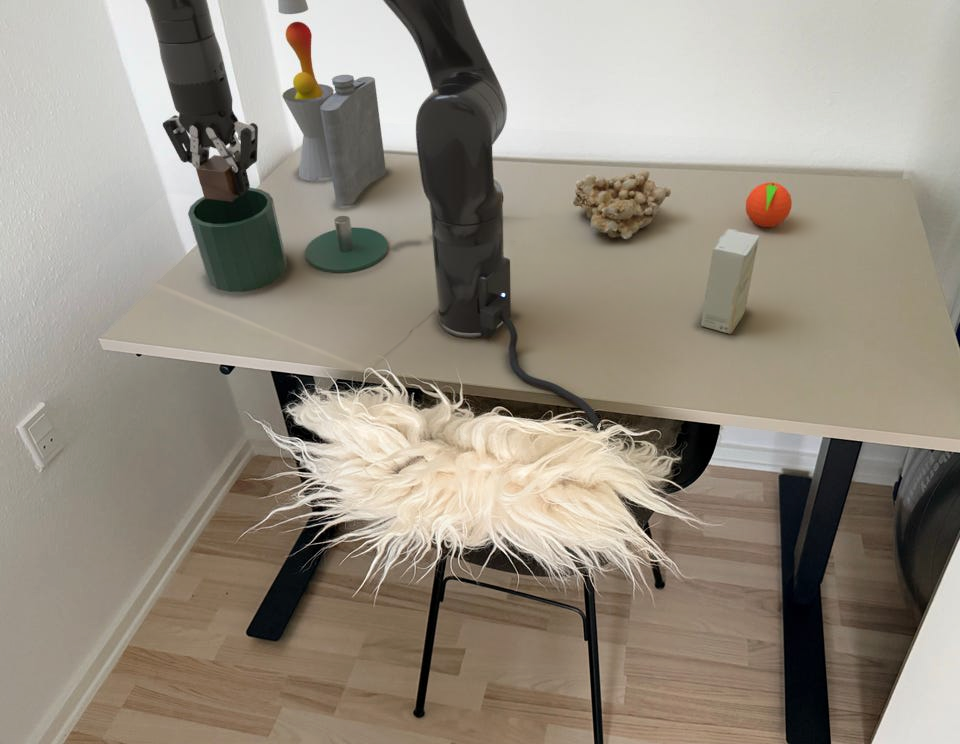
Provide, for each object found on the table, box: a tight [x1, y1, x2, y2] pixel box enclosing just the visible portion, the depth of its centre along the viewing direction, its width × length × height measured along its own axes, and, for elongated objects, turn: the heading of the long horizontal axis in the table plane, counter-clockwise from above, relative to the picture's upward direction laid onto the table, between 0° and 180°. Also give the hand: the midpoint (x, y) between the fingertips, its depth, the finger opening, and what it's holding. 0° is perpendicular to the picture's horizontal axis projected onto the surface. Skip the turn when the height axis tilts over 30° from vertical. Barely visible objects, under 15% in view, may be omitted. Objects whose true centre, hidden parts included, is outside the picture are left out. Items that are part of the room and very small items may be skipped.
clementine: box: [745, 181, 793, 228], centre depth 126 cm, size 8×7×7 cm
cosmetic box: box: [700, 228, 760, 335], centre depth 106 cm, size 6×4×12 cm
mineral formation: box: [572, 169, 672, 240], centre depth 129 cm, size 8×13×15 cm
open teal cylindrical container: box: [187, 186, 288, 293], centre depth 120 cm, size 12×12×12 cm
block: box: [195, 154, 239, 202], centre depth 113 cm, size 5×5×5 cm
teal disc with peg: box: [304, 215, 389, 274], centre depth 125 cm, size 13×13×6 cm
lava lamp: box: [277, 0, 335, 183], centre depth 139 cm, size 9×9×35 cm
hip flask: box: [320, 74, 387, 207], centre depth 138 cm, size 16×4×20 cm, turn 159°
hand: (226, 190), depth 115 cm, fingers closed on block, 4 cm apart
